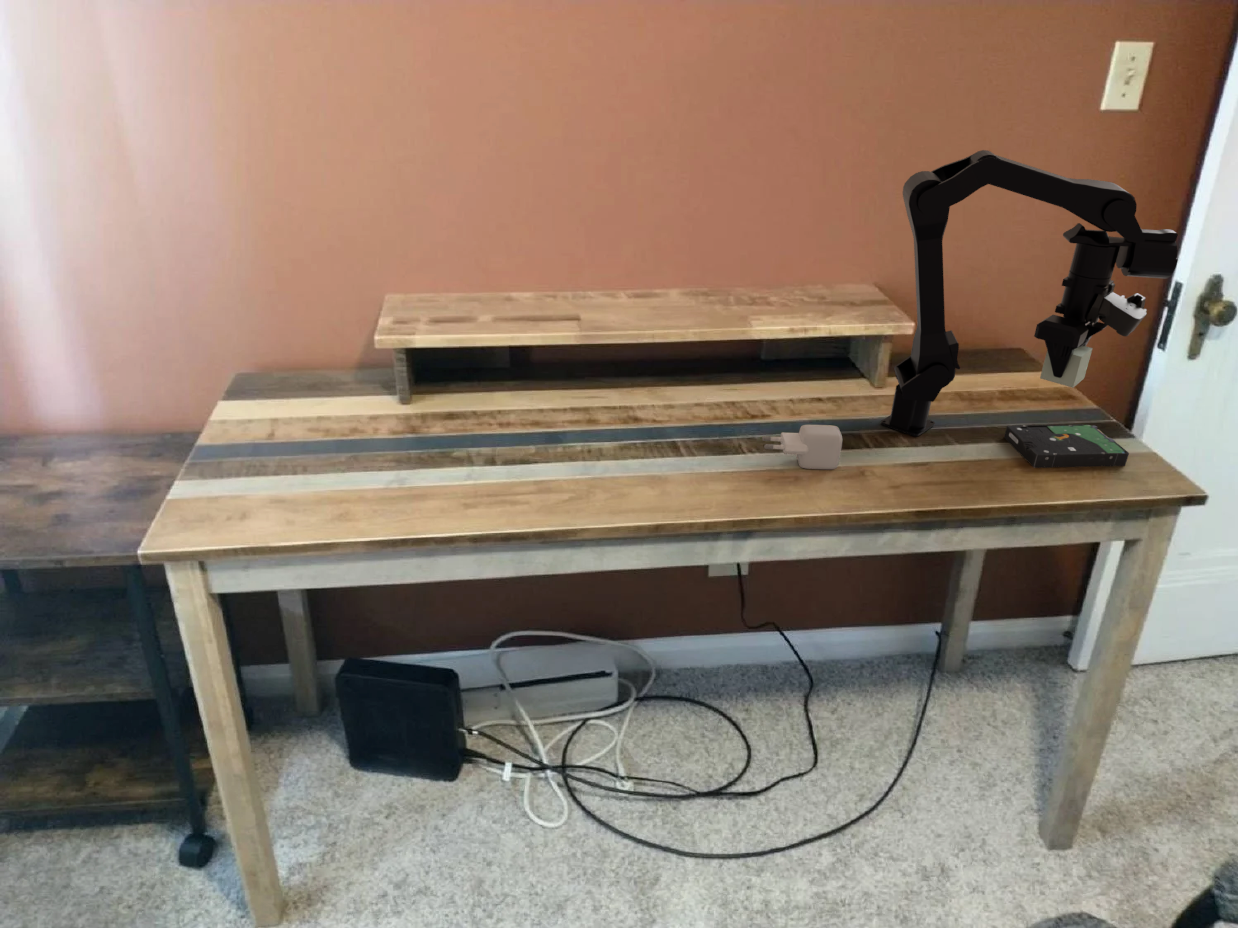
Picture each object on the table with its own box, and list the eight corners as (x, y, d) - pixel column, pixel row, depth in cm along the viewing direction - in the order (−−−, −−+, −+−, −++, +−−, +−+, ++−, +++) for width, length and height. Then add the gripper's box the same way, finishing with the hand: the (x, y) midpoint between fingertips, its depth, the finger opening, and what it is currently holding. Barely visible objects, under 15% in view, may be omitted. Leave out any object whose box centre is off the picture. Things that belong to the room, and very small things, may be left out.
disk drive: (1033, 472, 145) (1126, 468, 147) (1038, 455, 144) (1131, 452, 145) (1001, 440, 154) (1089, 437, 156) (1005, 424, 153) (1093, 421, 154)
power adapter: (762, 470, 141) (767, 434, 138) (758, 455, 145) (762, 419, 142) (839, 473, 141) (845, 437, 138) (832, 457, 145) (838, 422, 143)
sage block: (1073, 387, 146) (1081, 356, 144) (1039, 378, 149) (1047, 347, 147) (1084, 378, 150) (1092, 348, 147) (1051, 369, 153) (1059, 339, 150)
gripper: (1129, 301, 131) (1098, 406, 138) (1167, 272, 143) (1137, 370, 151) (1046, 282, 137) (1020, 383, 144) (1089, 256, 150) (1064, 350, 157)
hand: (1063, 372), depth 149 cm, fingers closed on sage block, 5 cm apart
